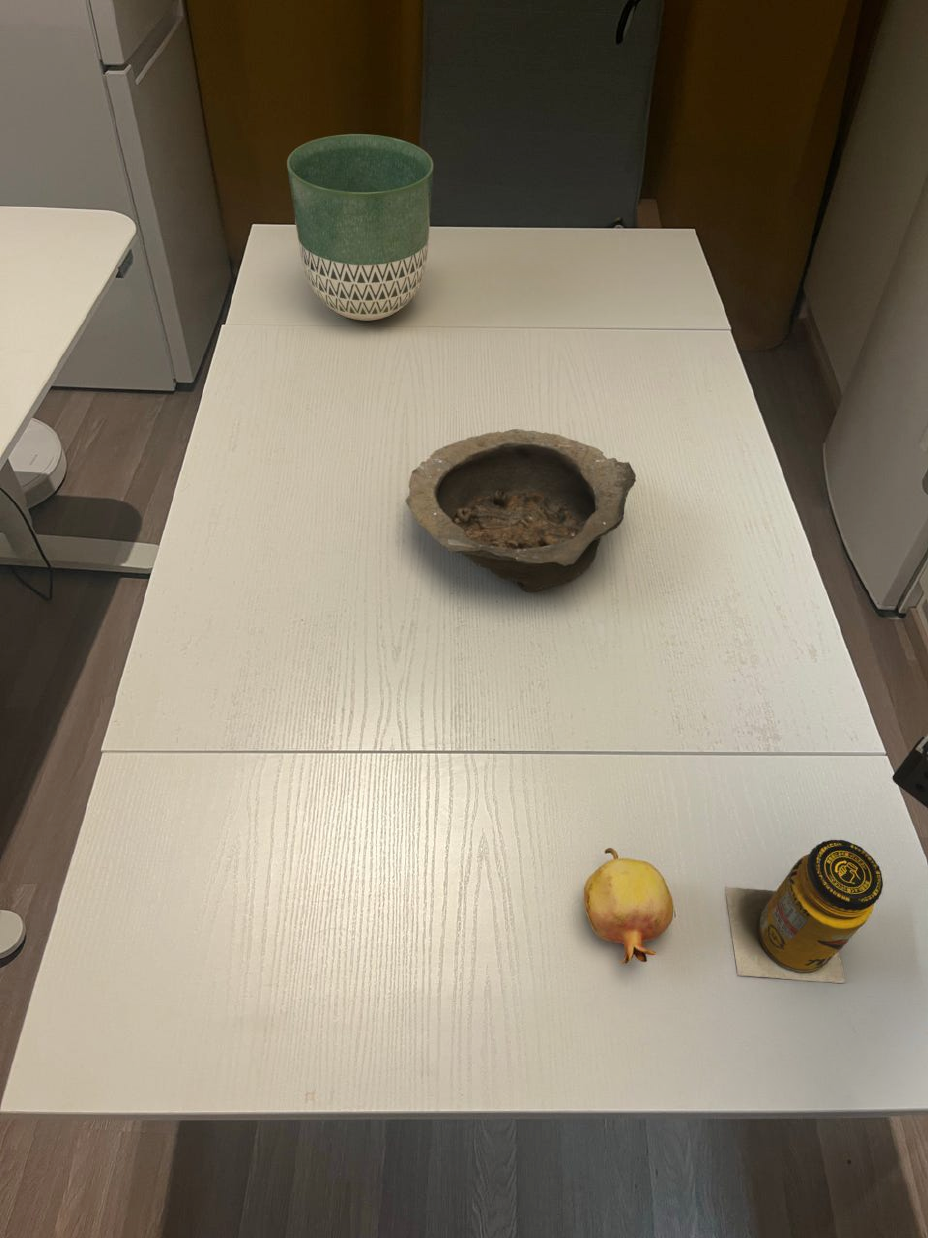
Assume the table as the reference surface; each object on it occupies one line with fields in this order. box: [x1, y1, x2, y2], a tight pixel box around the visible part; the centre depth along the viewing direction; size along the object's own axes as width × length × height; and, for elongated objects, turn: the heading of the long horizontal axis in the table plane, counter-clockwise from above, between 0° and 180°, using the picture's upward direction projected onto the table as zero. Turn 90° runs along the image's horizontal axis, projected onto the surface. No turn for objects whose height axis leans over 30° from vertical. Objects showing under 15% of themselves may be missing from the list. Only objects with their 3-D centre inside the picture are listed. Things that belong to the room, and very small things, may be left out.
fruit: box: [583, 847, 674, 965], centre depth 70 cm, size 7×7×10 cm
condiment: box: [725, 839, 884, 984], centre depth 68 cm, size 7×8×12 cm
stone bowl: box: [405, 428, 637, 592], centre depth 100 cm, size 25×25×9 cm
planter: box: [286, 133, 435, 322], centre depth 127 cm, size 20×20×21 cm
